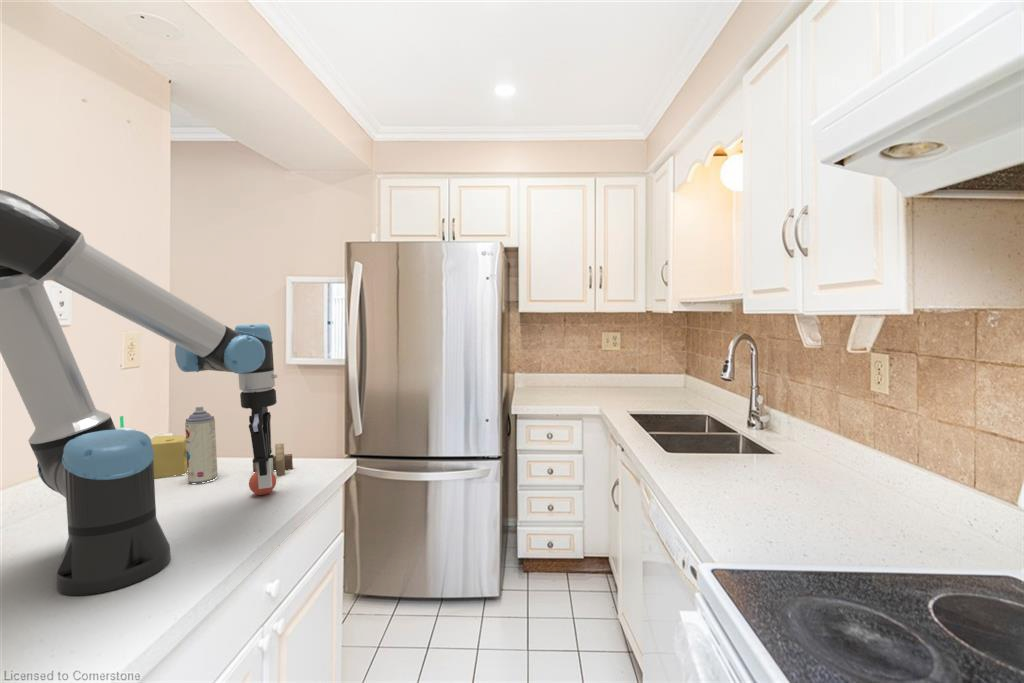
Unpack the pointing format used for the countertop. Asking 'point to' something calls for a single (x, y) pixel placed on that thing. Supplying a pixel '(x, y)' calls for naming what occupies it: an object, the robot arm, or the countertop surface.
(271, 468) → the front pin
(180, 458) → the yellow box
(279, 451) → the pin
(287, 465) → the back wall
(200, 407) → the aerosol can
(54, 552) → the countertop surface
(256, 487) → the ball
